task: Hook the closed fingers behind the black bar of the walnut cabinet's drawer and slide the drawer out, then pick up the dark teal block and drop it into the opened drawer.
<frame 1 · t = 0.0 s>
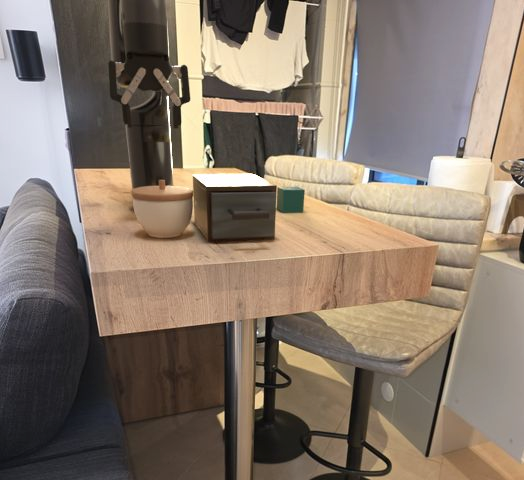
hand: (153, 128, 86), 17 cm above the counter, tool pointing down, fingers open, 8 cm apart
cabinet: (232, 230, 88), on the counter
trinket box: (165, 235, 84), on the counter
drawer: (237, 210, 82), point 5 cm above the counter, slide at 0.5 cm
block: (289, 210, 108), on the counter
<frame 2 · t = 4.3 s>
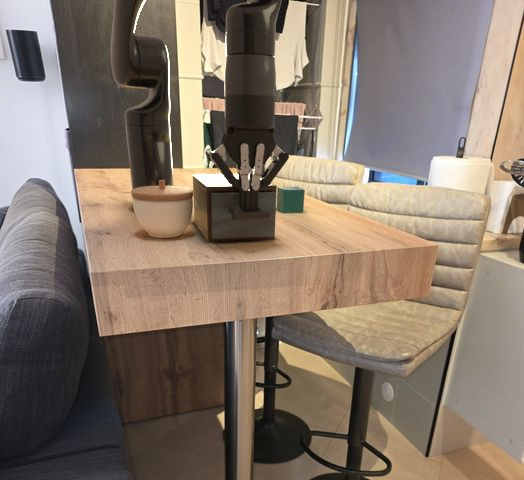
hand: (248, 213, 75), 6 cm above the counter, tool pointing down, fingers closed
drawer: (238, 210, 81), point 5 cm above the counter, slide at 0.6 cm, touching gripper
everything else where it was.
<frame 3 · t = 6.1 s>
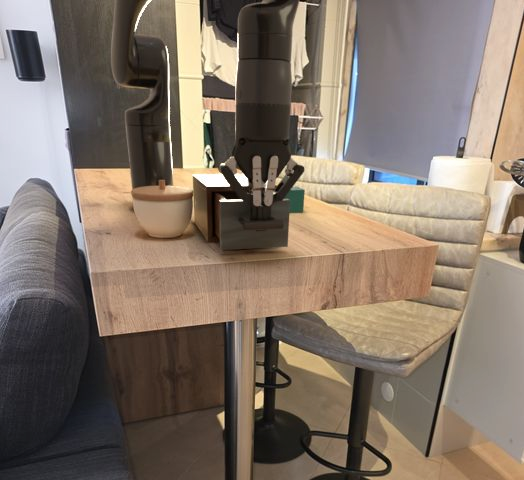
hand: (259, 230, 69), 4 cm above the counter, tool pointing down, fingers closed
drawer: (248, 218, 75), point 5 cm above the counter, slide at 7.8 cm
everything else where it was.
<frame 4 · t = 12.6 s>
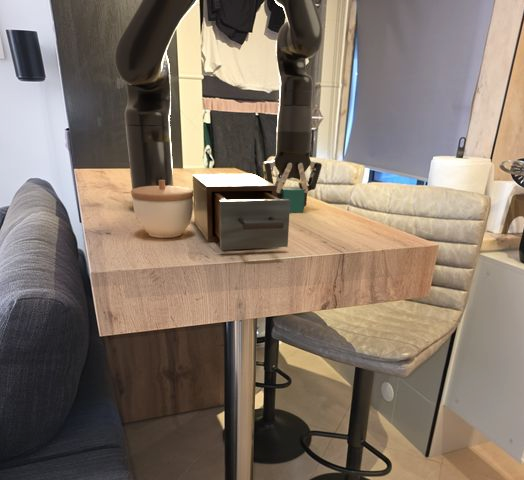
hand: (289, 208, 107), 0 cm above the counter, tool pointing down, fingers closed on block, 5 cm apart
block: (289, 210, 108), on the counter, touching gripper
everything else where it was.
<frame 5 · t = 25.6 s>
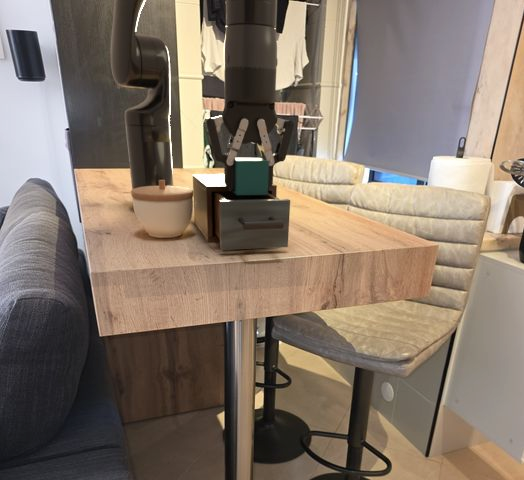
hand: (248, 189, 73), 9 cm above the counter, tool pointing down, fingers closed on block, 5 cm apart
block: (248, 192, 73), point 9 cm above the counter, touching gripper
everything else where it was.
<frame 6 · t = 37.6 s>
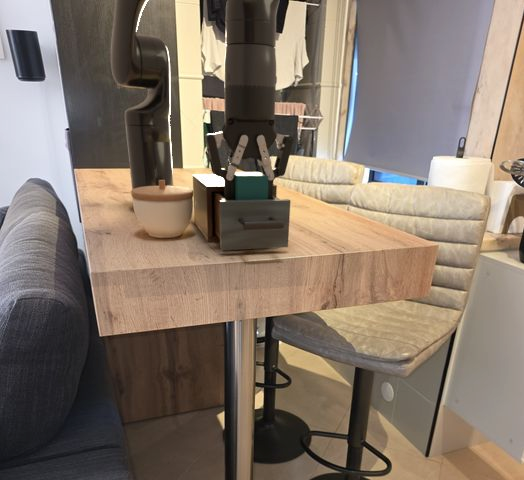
hand: (248, 203, 74), 7 cm above the counter, tool pointing down, fingers closed on block, 5 cm apart
block: (248, 206, 74), point 7 cm above the counter, touching gripper
everything else where it was.
when the fingers open (10 cm above the counter, at t = 38.6 s): block drops 7 cm, resting on drawer.
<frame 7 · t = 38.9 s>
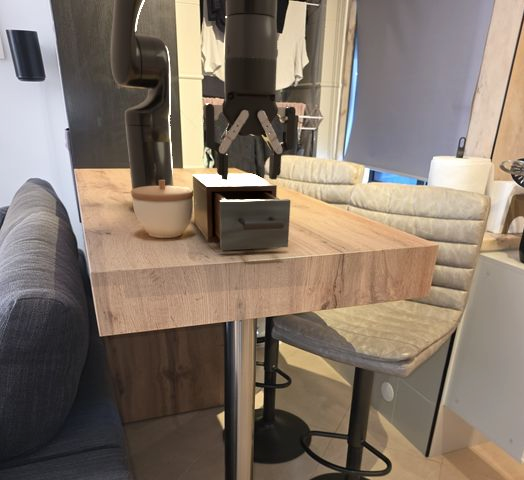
hand: (248, 179, 72), 11 cm above the counter, tool pointing down, fingers open, 7 cm apart
drawer: (248, 218, 75), point 5 cm above the counter, slide at 7.9 cm, touching block
block: (247, 234, 76), point 2 cm above the counter, touching drawer
everything else where it was.
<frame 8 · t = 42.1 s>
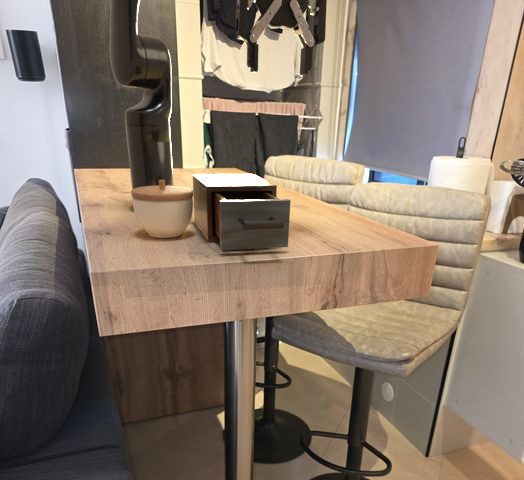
hand: (279, 73, 74), 26 cm above the counter, tool pointing down, fingers open, 8 cm apart
nothing on the counter moved.
at the end: drawer slide at 7.9 cm; block inside the target area in the drawer (0.4 cm from its centre), point 2.1 cm above the cabinet's base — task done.
